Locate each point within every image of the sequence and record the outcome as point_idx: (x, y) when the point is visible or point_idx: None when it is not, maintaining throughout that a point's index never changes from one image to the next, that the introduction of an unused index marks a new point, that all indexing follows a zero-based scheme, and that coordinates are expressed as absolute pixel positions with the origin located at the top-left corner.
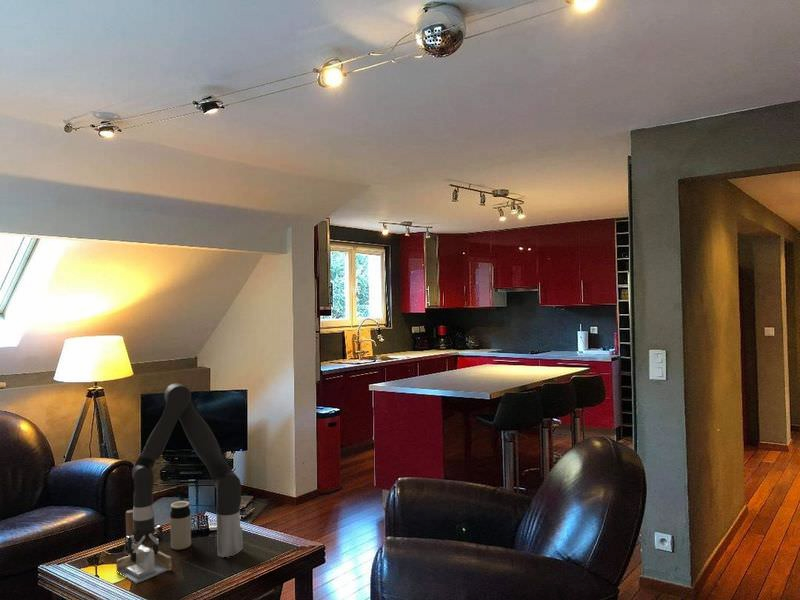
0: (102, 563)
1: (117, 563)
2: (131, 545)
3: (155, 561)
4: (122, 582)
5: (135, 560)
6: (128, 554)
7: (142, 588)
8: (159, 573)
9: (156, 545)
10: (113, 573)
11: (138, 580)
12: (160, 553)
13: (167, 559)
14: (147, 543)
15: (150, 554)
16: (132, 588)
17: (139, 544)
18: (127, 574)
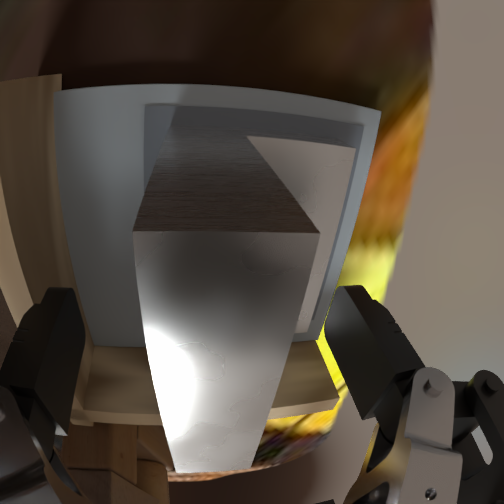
0: (269, 429)
1: (330, 384)
2: (150, 468)
3: (75, 288)
4: (389, 213)
5: (360, 296)
6: (163, 433)
7: (393, 6)
8: (143, 84)
9: (20, 381)
10: (320, 346)
11: (361, 106)
12: (18, 286)
13: (7, 105)
14: (80, 449)
15: (238, 204)
16: (422, 76)
17: (429, 486)
18: (327, 266)
